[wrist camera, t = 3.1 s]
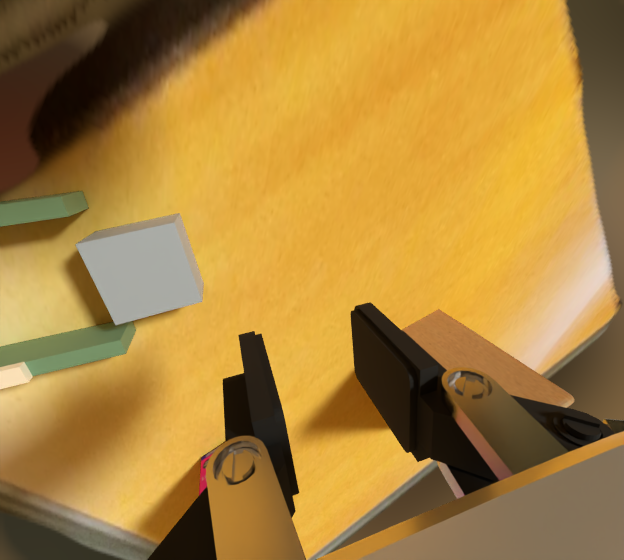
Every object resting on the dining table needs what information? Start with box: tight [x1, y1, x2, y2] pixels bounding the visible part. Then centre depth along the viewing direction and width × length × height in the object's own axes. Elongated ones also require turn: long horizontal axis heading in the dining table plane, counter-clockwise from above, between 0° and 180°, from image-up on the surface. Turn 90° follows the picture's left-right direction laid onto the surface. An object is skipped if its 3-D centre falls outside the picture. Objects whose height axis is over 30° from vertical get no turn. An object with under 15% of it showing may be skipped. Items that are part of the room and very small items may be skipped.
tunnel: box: [0, 191, 136, 389], centre depth 21 cm, size 11×12×4 cm
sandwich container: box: [401, 309, 574, 408], centre depth 32 cm, size 9×15×15 cm, turn 23°
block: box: [75, 213, 204, 325], centre depth 23 cm, size 6×6×4 cm
